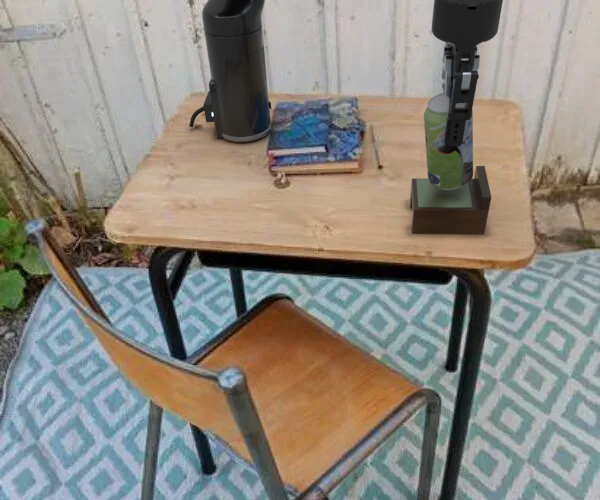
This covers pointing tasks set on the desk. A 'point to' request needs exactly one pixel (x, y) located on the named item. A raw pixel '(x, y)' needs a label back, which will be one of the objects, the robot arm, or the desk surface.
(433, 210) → the miniature bed
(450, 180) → the beverage can
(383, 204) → the desk surface
